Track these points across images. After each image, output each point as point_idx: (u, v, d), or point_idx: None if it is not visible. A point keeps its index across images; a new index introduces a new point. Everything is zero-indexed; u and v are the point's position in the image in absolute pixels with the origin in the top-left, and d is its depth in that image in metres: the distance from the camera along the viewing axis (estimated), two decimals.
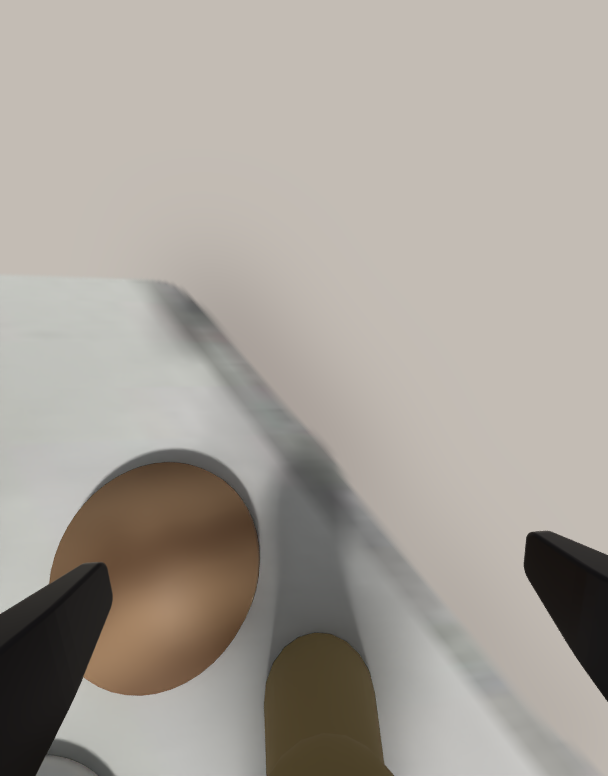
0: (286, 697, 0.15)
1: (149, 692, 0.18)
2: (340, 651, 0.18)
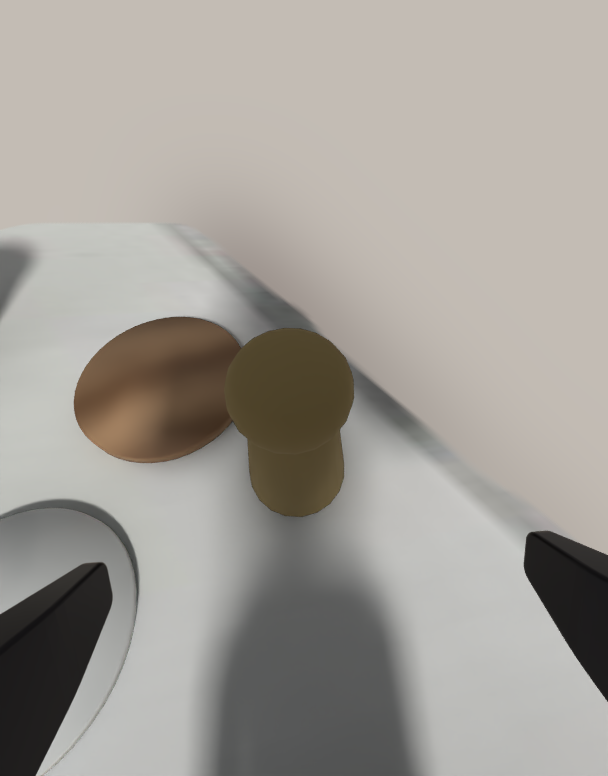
0: None
1: (152, 455, 0.21)
2: None
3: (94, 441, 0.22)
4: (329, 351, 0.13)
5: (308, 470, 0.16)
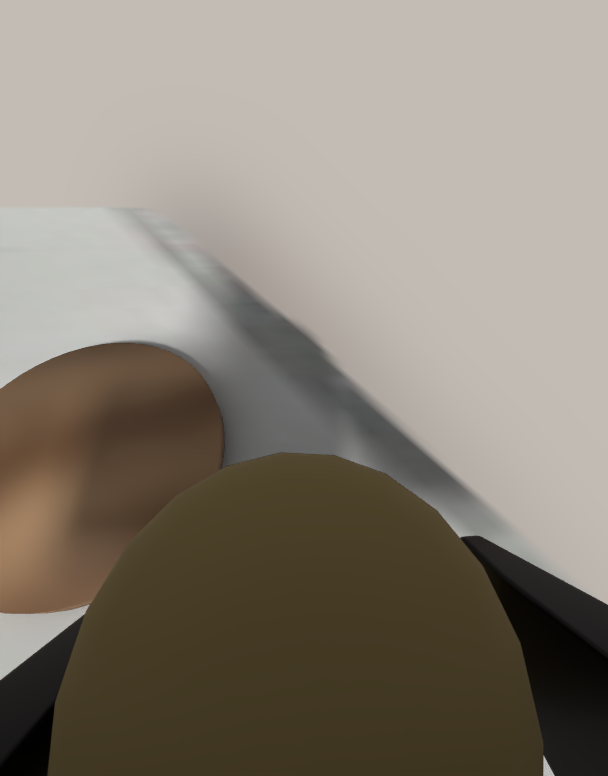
0: None
1: (41, 609, 0.12)
2: None
3: None
4: (453, 587, 0.03)
5: None
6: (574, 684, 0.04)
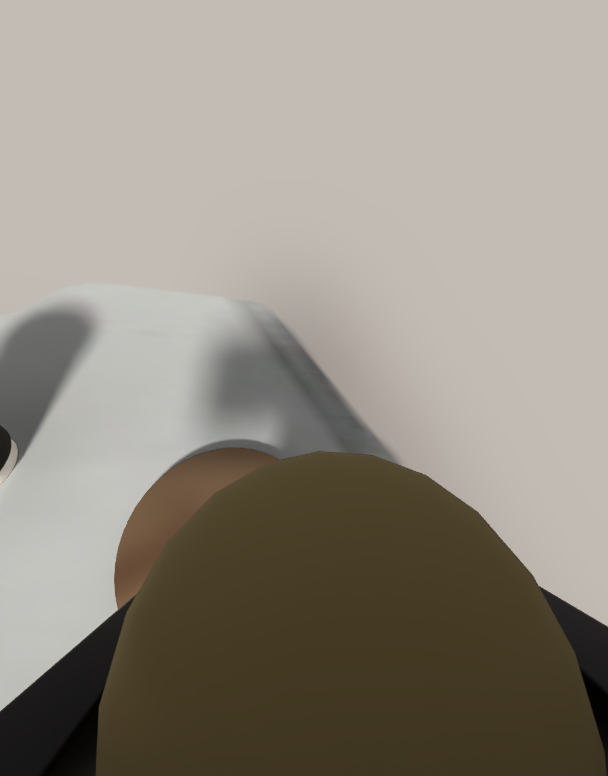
0: None
1: None
2: None
3: None
4: (512, 590, 0.03)
5: None
6: None
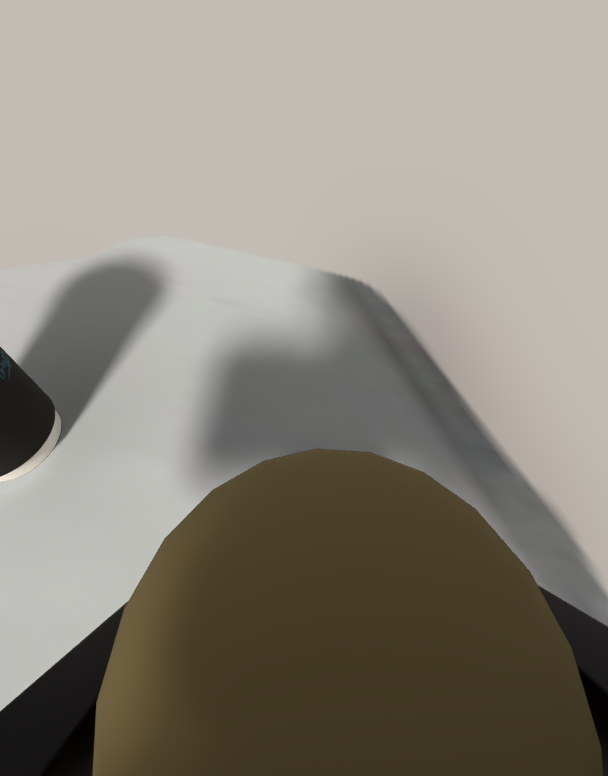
0: None
1: None
2: None
3: None
4: (509, 585, 0.03)
5: None
6: None
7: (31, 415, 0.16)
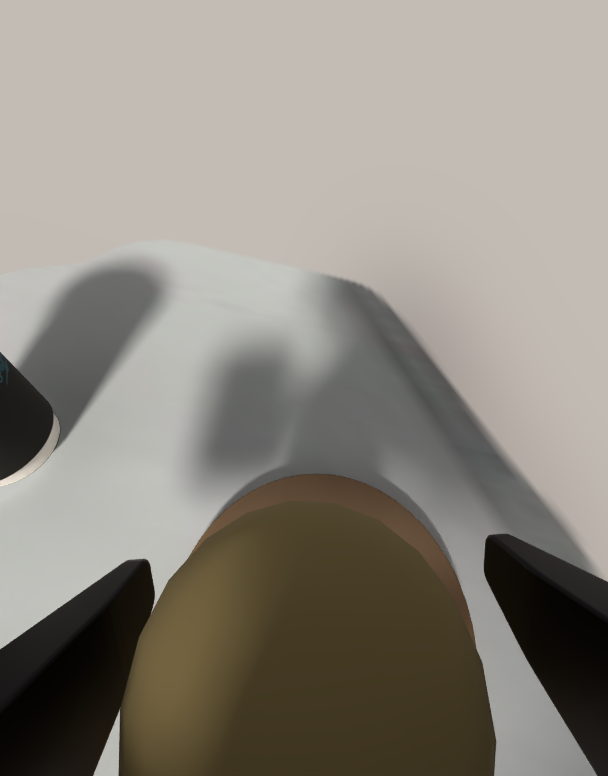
0: None
1: None
2: None
3: None
4: (427, 623, 0.04)
5: None
6: None
7: (29, 419, 0.16)
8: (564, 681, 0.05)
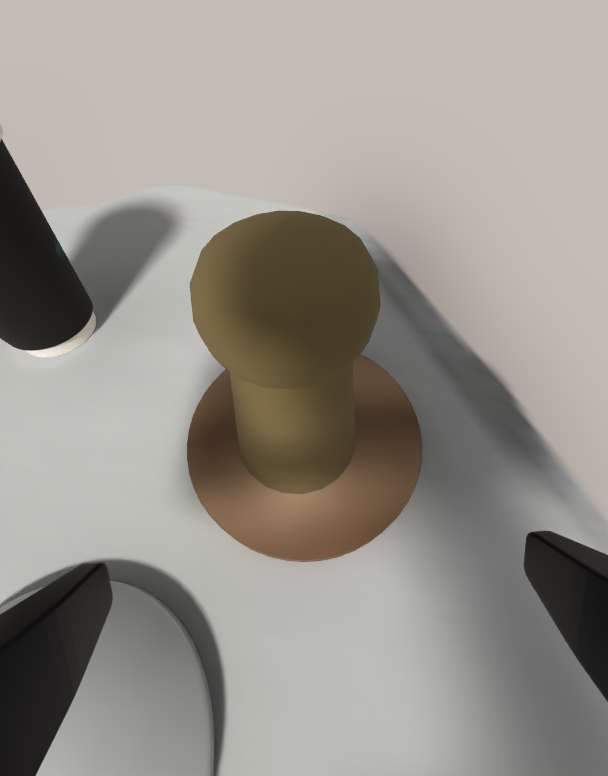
0: None
1: (275, 554, 0.14)
2: None
3: (203, 501, 0.16)
4: (345, 233, 0.09)
5: (312, 424, 0.11)
6: None
7: (77, 296, 0.20)
8: None
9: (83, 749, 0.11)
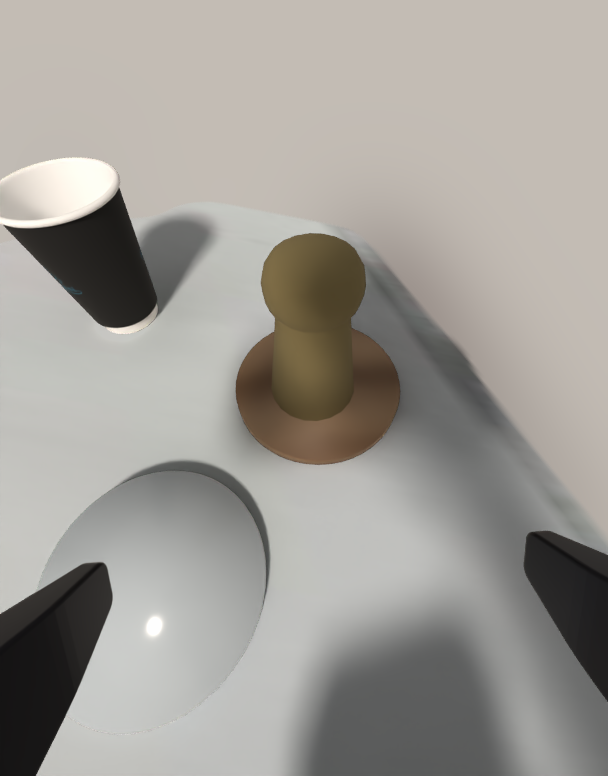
0: None
1: (300, 456, 0.22)
2: None
3: (249, 425, 0.23)
4: (346, 246, 0.16)
5: (326, 360, 0.19)
6: None
7: (150, 288, 0.28)
8: None
9: (184, 550, 0.19)
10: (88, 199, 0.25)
